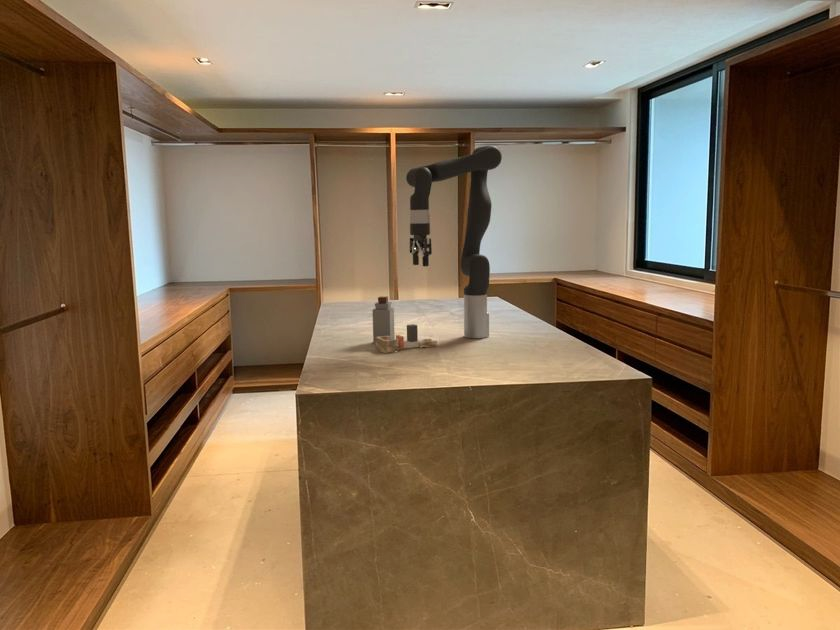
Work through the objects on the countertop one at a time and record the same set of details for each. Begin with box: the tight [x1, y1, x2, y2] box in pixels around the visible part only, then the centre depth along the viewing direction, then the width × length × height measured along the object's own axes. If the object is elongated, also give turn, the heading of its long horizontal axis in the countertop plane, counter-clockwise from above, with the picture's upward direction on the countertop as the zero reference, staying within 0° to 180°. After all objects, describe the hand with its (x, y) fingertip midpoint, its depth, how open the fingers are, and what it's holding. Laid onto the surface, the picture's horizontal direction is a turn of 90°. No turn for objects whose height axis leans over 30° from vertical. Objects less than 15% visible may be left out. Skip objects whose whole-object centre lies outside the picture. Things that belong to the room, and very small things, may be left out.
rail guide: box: [418, 337, 438, 349], centre depth 244 cm, size 7×6×2 cm
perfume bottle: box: [372, 296, 396, 344], centre depth 250 cm, size 7×7×18 cm
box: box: [375, 336, 400, 354], centre depth 238 cm, size 5×9×4 cm, turn 25°
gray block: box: [395, 324, 425, 350], centre depth 241 cm, size 10×4×8 cm, turn 115°
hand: (420, 265), depth 244 cm, fingers open, 8 cm apart
